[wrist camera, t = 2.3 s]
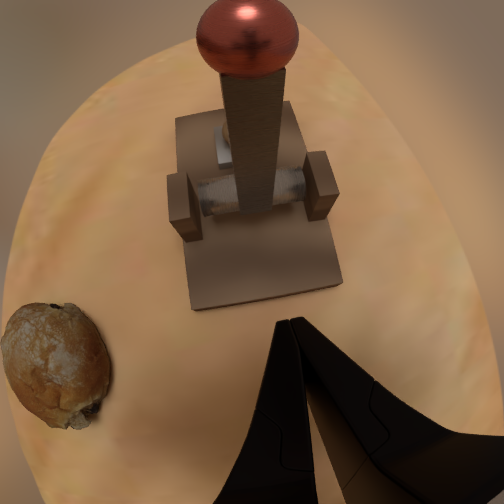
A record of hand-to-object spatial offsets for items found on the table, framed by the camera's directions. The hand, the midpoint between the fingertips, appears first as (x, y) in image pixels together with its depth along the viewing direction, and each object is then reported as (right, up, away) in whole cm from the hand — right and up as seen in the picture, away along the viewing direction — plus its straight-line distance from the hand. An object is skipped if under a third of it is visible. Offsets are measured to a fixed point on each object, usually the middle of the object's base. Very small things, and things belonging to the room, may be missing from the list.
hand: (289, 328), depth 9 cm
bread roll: (-16, -7, +10) cm, 20 cm away
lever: (-1, +7, +9) cm, 12 cm away
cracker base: (-1, +7, +13) cm, 15 cm away
